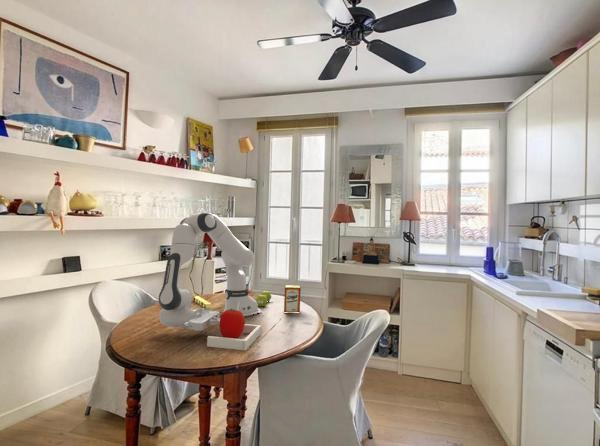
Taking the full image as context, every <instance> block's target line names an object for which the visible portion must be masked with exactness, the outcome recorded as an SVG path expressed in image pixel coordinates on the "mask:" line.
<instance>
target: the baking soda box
mask: <svg viewBox="0 0 600 446" xmlns="http://www.w3.org/2000/svg"><path fill="white" fill-rule="evenodd" d="M283 298H284V299H283V300H284V302H283V303H284V304H283V305H284V306H283V313H284V312H301V285H294V284H291V285H289V284H285V285H284V297H283Z"/></svg>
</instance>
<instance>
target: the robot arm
mask: <svg viewBox="0 0 600 446" xmlns="http://www.w3.org/2000/svg"><path fill="white" fill-rule="evenodd" d="M203 234H207V235H208V236H209V238H210V239H211V241H212V242H213V243H214V244H215V246H216V247H217V248H218V249H219V250H220V251H221V257H220V258H221V260H222V261H223V263H224V267H225V271H226V289H225V304H224V305H225V306H224V308H223V312H224V311H226V310H229V309H232V310H238V311H241V312H242V313H243V315H244V317H248V316H253V314H254V315H258V314H257V313H259V314H262V313H261V312H263V311H262V309H261V308H259V306H258V304H257V302H256V300H255V299H254V298H253V297H252V296H251V295H250V294H251V293H252V290H250V289H247V274H246V273H245V271H244V267H245V268H246V267H247V268H248V267H250V266H251V265H253V263H254V262H255V253H254V252H253V250H251V249H249V248H247V246H246V245H244V244H243V243H242V242H241V241H240V240H239V239H238V238H237V237H236V236H235V235H234V234H233V232H232V231H231V230H230V229H229V227H228V226H227V225H226V223H225V222H224V221H223V220H222V219H221V218H220V217H219V215H216V214H213V213H210V212H206V211H205V212H201V213H195V214H192V215H190V216H188V217H185V218H183V219H182V220H181V221H180V222H179V224H177V225H176V226H175V227H174V229H173V232H172V239H171V247H170V254H169V256H168V258H167V260H166V261H167V262H166V266H165V273H164V277H163V283H162V288H161V289H160V292H159V294H158V304H159V306H160V307H161V308H162V309H161V310H160V311H159V316H158V318H159V321H160V324H161V325H164V326H167V327H168V328H169V327H170V328H183V329H187V330H190V331H197V332H202V331H203V330H204V329H207V328H208V327H209V326H213V325H219V326H220V318H221V312H220V311H218V310H213V309H205V308H204V307H203V308H202V307H201V308H195V309H194V308H191V306H192V303H193V294H192V292H191V291H190V290H189V289H187V288H180V287H179V286H178V285H179V278H180V270H181V269H182V267H183V266H184V265H186V264H187V263H189V262H191V261H192V259H193V258H194V255H195V251H196V249H195V246H196V241H195V238H196V236H201V235H203ZM223 312H222V313H223Z"/></svg>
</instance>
